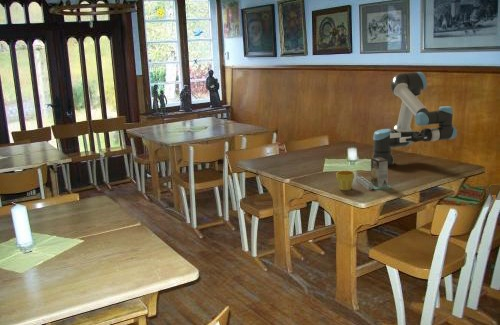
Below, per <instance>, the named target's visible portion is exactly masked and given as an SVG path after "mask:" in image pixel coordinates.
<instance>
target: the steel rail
mask: <svg viewBox="0 0 500 325" xmlns="http://www.w3.org/2000/svg"><path fill="white" fill-rule="evenodd" d="M356 182H357V183H359V184H360V185H361V186H363V187H364V188H365V189H367V190H368V191H370V190H371V191H372V189H374V184H372V183H371V181H369V180H368V179H366V178H365V177H363V175H357V176H356ZM374 190H375V189H374Z"/></svg>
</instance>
